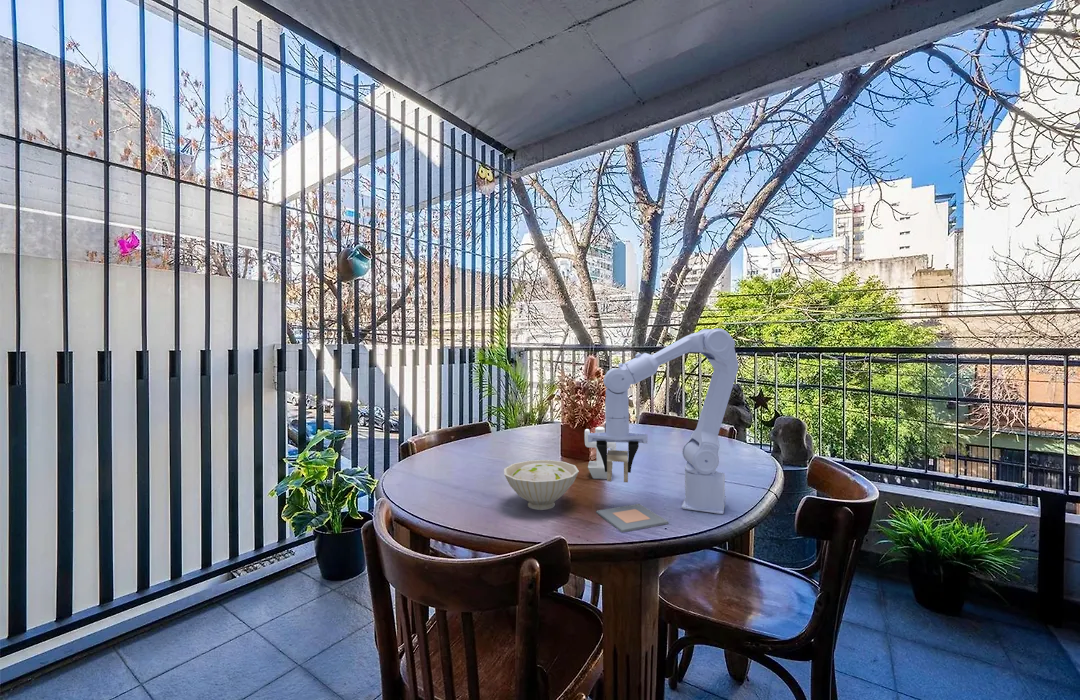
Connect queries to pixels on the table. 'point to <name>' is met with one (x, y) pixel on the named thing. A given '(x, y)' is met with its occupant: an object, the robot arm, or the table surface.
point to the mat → (631, 517)
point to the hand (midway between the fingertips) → (617, 471)
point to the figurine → (598, 456)
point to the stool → (617, 457)
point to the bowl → (541, 481)
